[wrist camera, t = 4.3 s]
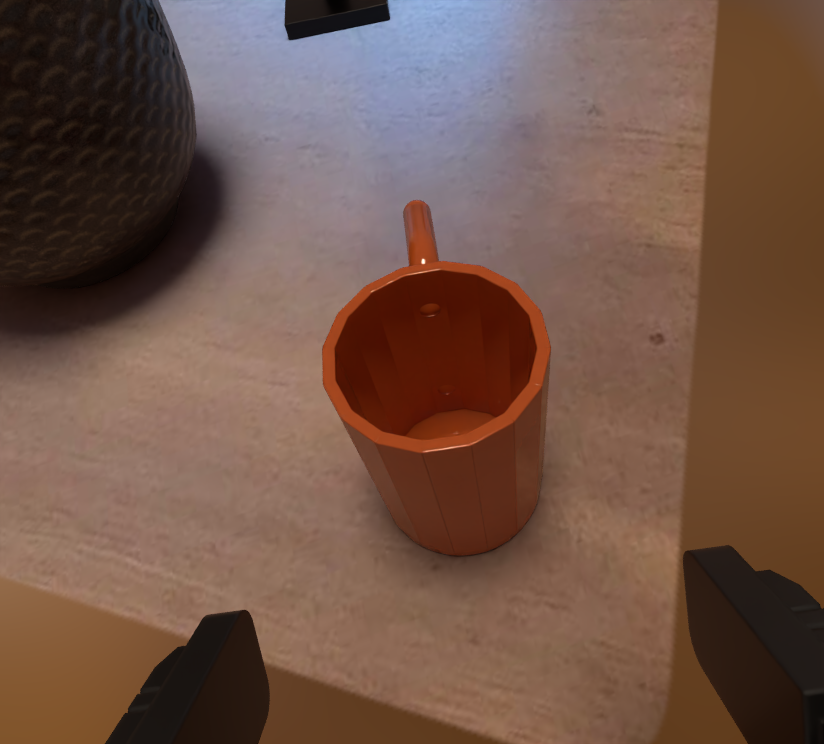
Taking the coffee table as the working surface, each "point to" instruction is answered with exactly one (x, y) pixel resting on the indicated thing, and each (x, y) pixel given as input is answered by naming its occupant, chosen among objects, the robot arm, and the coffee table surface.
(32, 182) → the planter
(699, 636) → the robot arm
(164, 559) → the coffee table surface
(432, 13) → the coffee table surface
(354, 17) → the hook stand
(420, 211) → the mug
